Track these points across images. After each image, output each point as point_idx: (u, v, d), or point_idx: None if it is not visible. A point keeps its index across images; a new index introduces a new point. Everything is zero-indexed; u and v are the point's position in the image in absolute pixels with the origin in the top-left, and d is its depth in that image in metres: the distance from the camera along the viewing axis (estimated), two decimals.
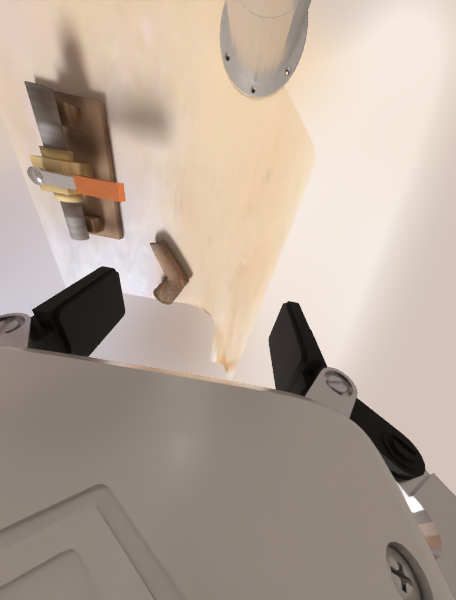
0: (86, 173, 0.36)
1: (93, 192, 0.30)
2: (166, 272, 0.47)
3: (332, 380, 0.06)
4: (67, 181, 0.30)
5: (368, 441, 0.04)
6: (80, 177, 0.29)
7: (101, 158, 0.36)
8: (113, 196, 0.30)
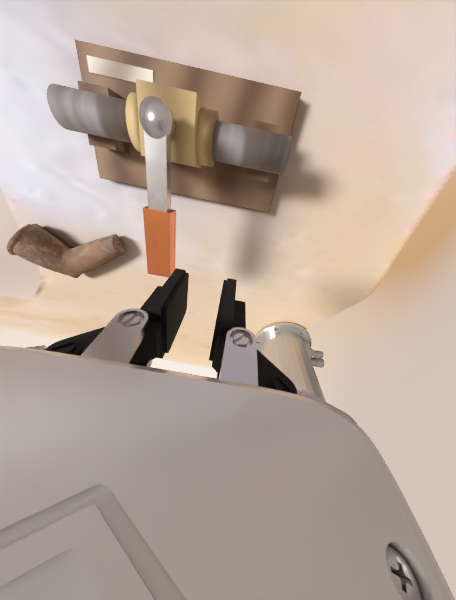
0: None
1: (151, 238, 0.19)
2: (74, 256, 0.30)
3: (237, 338, 0.07)
4: (158, 194, 0.17)
5: (368, 441, 0.04)
6: (168, 225, 0.18)
7: (213, 191, 0.26)
8: (153, 267, 0.21)
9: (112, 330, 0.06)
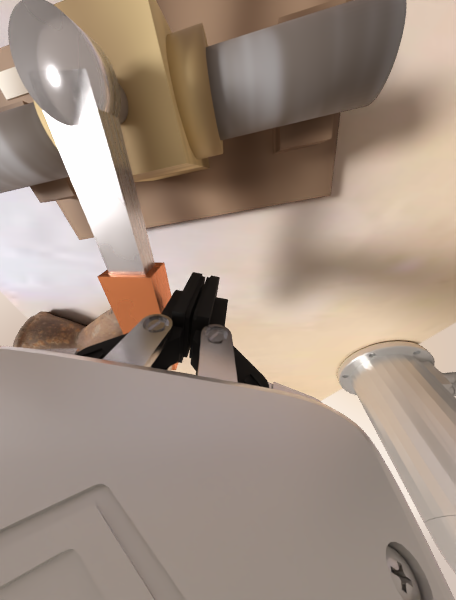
0: (185, 172, 0.13)
1: (128, 322, 0.10)
2: (88, 338, 0.24)
3: (212, 335, 0.07)
4: (120, 246, 0.08)
5: (368, 441, 0.04)
6: (153, 298, 0.09)
7: (230, 198, 0.16)
8: None
9: (139, 336, 0.06)
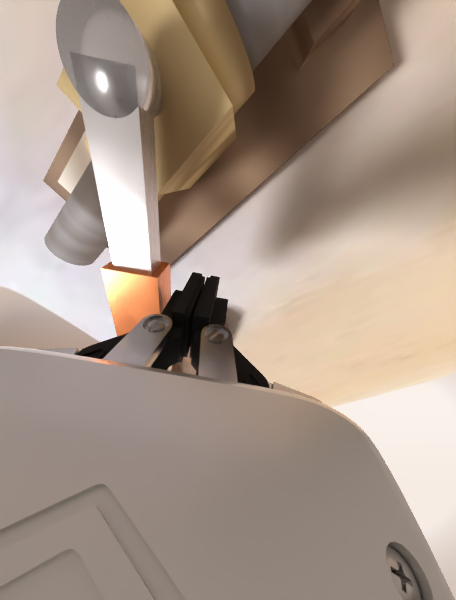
0: (217, 153, 0.13)
1: (124, 317, 0.10)
2: None
3: (212, 335, 0.07)
4: (131, 242, 0.08)
5: (368, 441, 0.04)
6: (155, 297, 0.09)
7: (269, 155, 0.14)
8: None
9: (139, 336, 0.06)
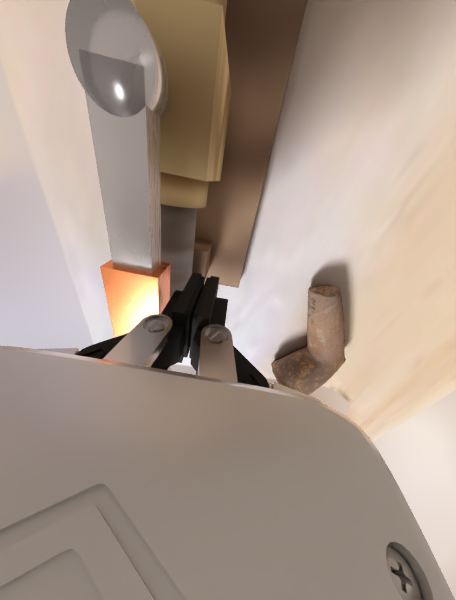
0: (225, 118, 0.12)
1: (122, 317, 0.10)
2: (322, 348, 0.22)
3: (212, 335, 0.07)
4: (133, 241, 0.08)
5: (368, 441, 0.04)
6: (155, 298, 0.09)
7: (271, 73, 0.12)
8: None
9: (139, 336, 0.06)
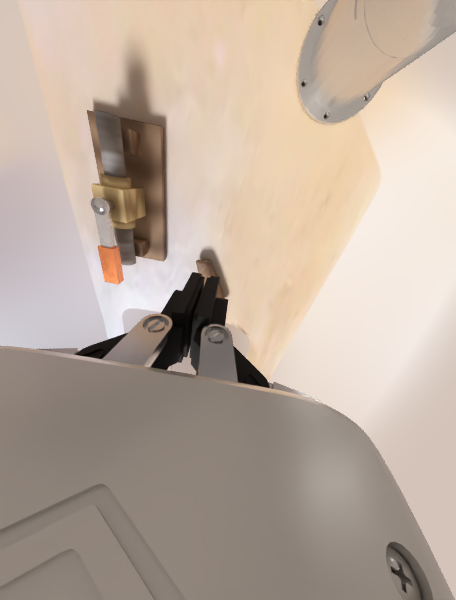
0: (140, 198, 0.35)
1: (104, 262, 0.33)
2: None
3: (212, 335, 0.07)
4: (105, 239, 0.31)
5: (368, 441, 0.04)
6: (113, 255, 0.32)
7: (155, 182, 0.35)
8: (107, 278, 0.35)
9: (139, 336, 0.06)
